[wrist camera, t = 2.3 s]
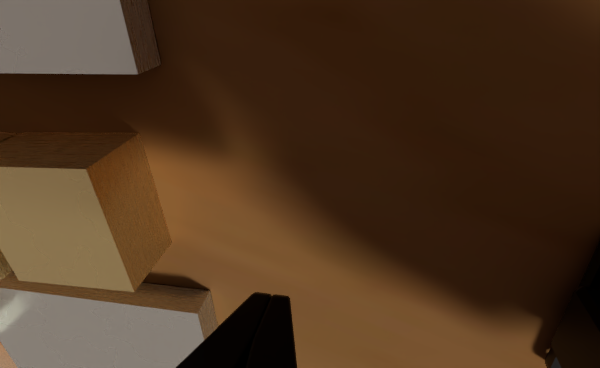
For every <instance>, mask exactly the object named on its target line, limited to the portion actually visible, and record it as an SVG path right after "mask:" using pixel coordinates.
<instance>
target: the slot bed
mask: <svg viewBox="0 0 600 368" xmlns="http://www.w3.org/2000/svg"><path fill="white" fill-rule="evenodd" d="M159 65H161V62H160V57H159V52H158V48H157V43H156V39H155V34H154V29H153V25H152V20H151V15H150V11H149V6H148V1H147V0H0V73H24V74H140V73H143V72H145V71H147V70H150V69H152V68H154V67H157V66H159ZM217 327H218V326H217V322H216V317H215V312H214V308H213V303H212V298H211V294H210V291H209V290H200V289H192V288H184V287H175V286H167V285H158V284H150V283H141V284H140V285H139V287H138V288H137V289H136V291H135V292H128V291H118V290H108V289H98V288H88V287H78V286H68V285H58V284H48V283H38V282H28V281H19V280H18V278H17V276H16V275H15V273H14V271H12V272H11V273H9V274H8V275H7V276H6V277H5V278H3V279H0V342H1V343H2V345H3V346H4V348H5V349H6V351H7V352H8V354H9V355H10V357H11V358H12V360H13V361H14V363H15V364H16V366H17V367H18V368H176V367H177V366H178V365H179V364H180V363H181V362H182V361H183V360H184V359H185V358H186V357H187V356H188V355H189V354H190V353H191V352H192V351H193V350H194V349H195V348H197V347H198V346H199V345H200V344H201V343H202V342H203V341H204V340H205V339H206V338H207V337H208V336H209V335H210V334H211V333H212V332H213V331H214V330H215V329H216V328H217Z"/></svg>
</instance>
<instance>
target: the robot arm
mask: <svg viewBox="0 0 600 368" xmlns="http://www.w3.org/2000/svg"><path fill="white" fill-rule="evenodd" d="M545 364H546V366H547V368H600V242H599V244H598V246H597V249H596V251H595V253H594V255H593V257H592V259H591V262H590V264H589V266H588V268H587V270H586V273H585V275H584V277H583V279H582V281H581V283H580V286H579V288H578V289H577V290H576V291H575V292H574V293H573V295H572V298H571V300H570V302H569V304H568V306H567V308H566V311H565V313H564V315H563V317H562V319H561V322H560V324H559V326H558V328H557V330H556V333H555V335H554V337H553V339H552V341H551V348H550V351H549V353H548V355H547V357H546V359H545ZM176 368H297V362H296V352H295V342H294V333H293V323H292V314H291V304H290V298H289V297H288V296H284V295H276V294H275V295H273V296H272V295H271V294H267V293H259V292H255V293H253V294H252V295H251V296H250V297H249V298H248V299H247V300H246V301H245V302H243V303H242V304H241V305H240V306H239V307H238V308H237V309H236V310H235V311H234V312H233V313H232V314H231V315H230V316H229V317H228V318H227V319H226V320H225V321H224V322H223V323H222V324H221V325H219V326H218V327H217V328H216V329H215V330H214V331H213V332H212V333H211V334H210V335H209V336H208V337H207V338H206V339H205V340H204V341H203V342H202V343H201V344H200V345H199V346H198V347H197V348H195V349H194V350H193V351H192V352H191V353H190V354H189V355H188V356H187V357H186V358H185V359H184V360H183V361H182V362H181V363H180V364H179V365H178V366H177V367H176Z"/></svg>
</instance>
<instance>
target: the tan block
mask: <svg viewBox="0 0 600 368" xmlns="http://www.w3.org/2000/svg"><path fill="white" fill-rule="evenodd" d="M171 243H172V240H171V237H170V234H169V230H168V227H167V224H166V220H165V217H164V213H163V210H162V207H161V203H160V200H159V197H158V193H157V190H156V187H155V183H154V180H153V176H152V173H151V170H150V166H149V163H148V160H147V156H146V153H145V150H144V146H143V143H142V139H141V136H140V133H88V132H23V133H21V134H19V135H16V136H14V137H12V138H10V139H8V140H5V141H3V142H1V143H0V249H1V251H2V253H3V254H4V256H5V258H6V260H7V261H8V263H9V265H10V266H11V268H12V270H13V271H14V273H15V275H16V276H17V278H18V280H19V281H28V282H38V283H48V284H58V285H68V286H78V287H88V288H98V289H108V290H118V291H128V292H135V291H136V289H137V288H138V287H139V285H140V284H141V283H142V281H143V280H144V279H145V277H146V276H147V275H148V273H149V272H150V271H151V270H152V268H153V267H154V266H155V264H156V263H157V262H158V260H159V259H160V258H161V256H162V255H163V254H164V252H165V251H166V250H167V248H168V247H169V246H170V245H171Z"/></svg>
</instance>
